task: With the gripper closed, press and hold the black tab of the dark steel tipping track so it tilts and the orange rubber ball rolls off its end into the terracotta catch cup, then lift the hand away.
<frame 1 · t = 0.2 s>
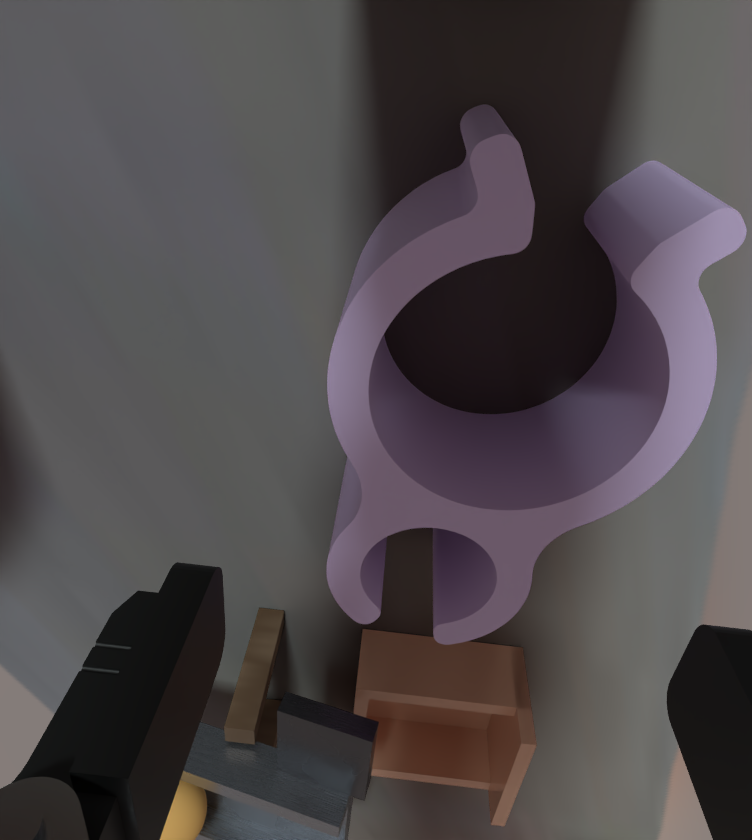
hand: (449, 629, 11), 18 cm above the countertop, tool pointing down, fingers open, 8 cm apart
ball: (166, 811, 32), point 9 cm above the countertop, tilted 9°, touching tipping track
tipping track: (238, 779, 32), point 9 cm above the countertop, hinge at -12.0°, touching ball
clip: (473, 365, 28), on the countertop
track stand: (272, 663, 40), on the countertop
catch cup: (432, 682, 40), on the countertop
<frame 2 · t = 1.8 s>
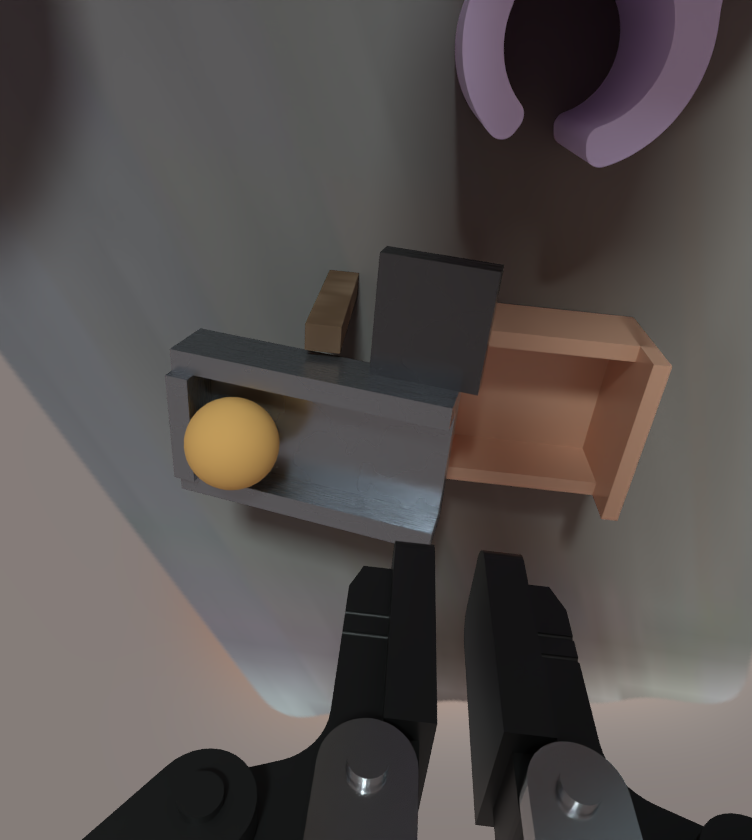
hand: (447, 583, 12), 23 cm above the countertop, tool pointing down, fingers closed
ball: (232, 443, 27), point 9 cm above the countertop, tilted 9°, touching tipping track
tipping track: (321, 392, 26), point 9 cm above the countertop, hinge at -12.0°, touching ball
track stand: (338, 361, 35), on the countertop
catch cup: (523, 381, 35), on the countertop
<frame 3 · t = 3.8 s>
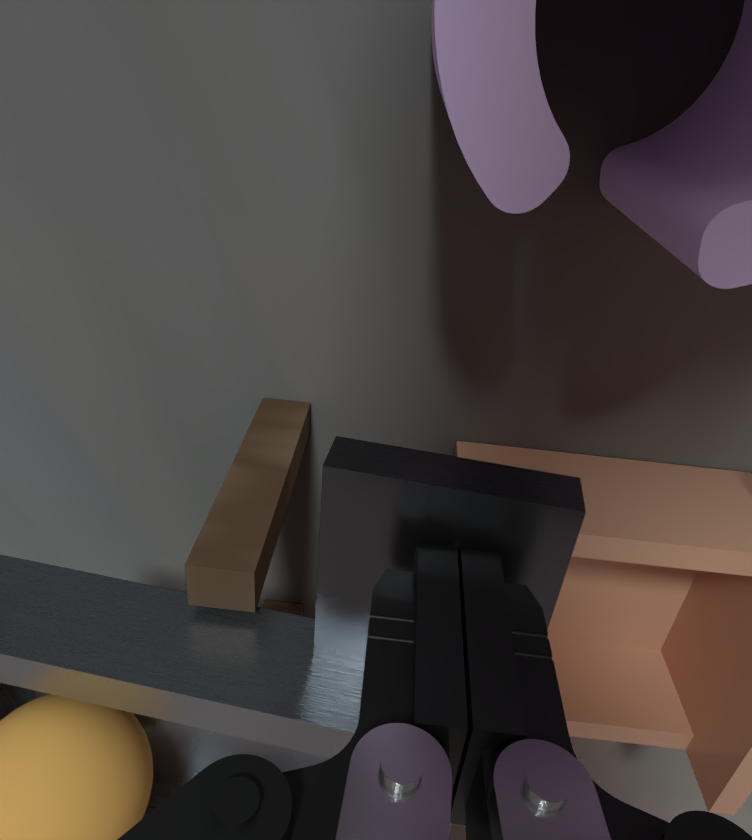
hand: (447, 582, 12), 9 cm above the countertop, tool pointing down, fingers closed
ball: (59, 786, 14), point 10 cm above the countertop, touching tipping track
tipping track: (223, 690, 14), point 9 cm above the countertop, hinge at -6.2°, touching ball, gripper
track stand: (285, 524, 22), on the countertop
catch cup: (573, 557, 22), on the countertop
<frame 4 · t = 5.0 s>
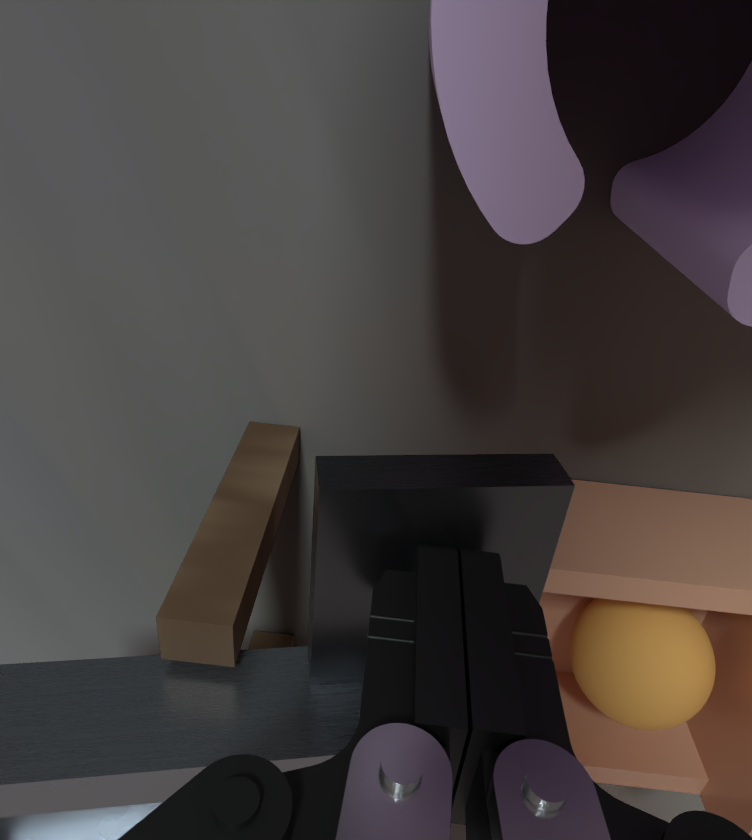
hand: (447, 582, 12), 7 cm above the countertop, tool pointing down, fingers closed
ball: (639, 656, 19), point 3 cm above the countertop, tilted 94°, touching catch cup
tipping track: (216, 749, 13), point 8 cm above the countertop, hinge at 12.1°, touching gripper
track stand: (274, 553, 21), on the countertop
catch cup: (579, 587, 21), on the countertop
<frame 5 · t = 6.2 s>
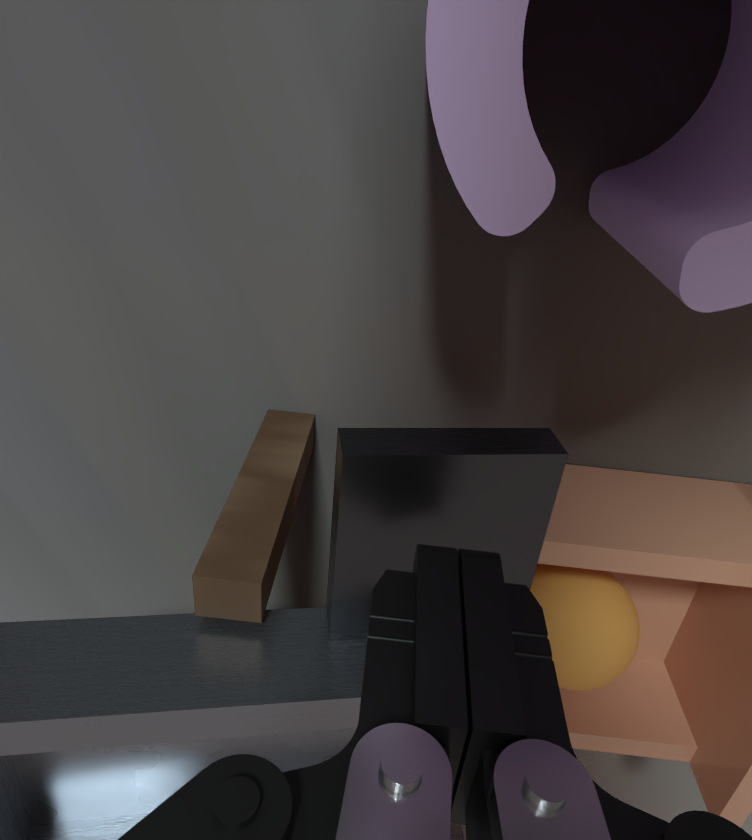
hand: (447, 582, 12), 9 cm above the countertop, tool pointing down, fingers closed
ball: (572, 622, 20), point 3 cm above the countertop, tilted 40°, touching catch cup
tipping track: (244, 697, 14), point 8 cm above the countertop, hinge at 12.2°
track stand: (288, 536, 23), on the countertop
catch cup: (575, 568, 22), on the countertop
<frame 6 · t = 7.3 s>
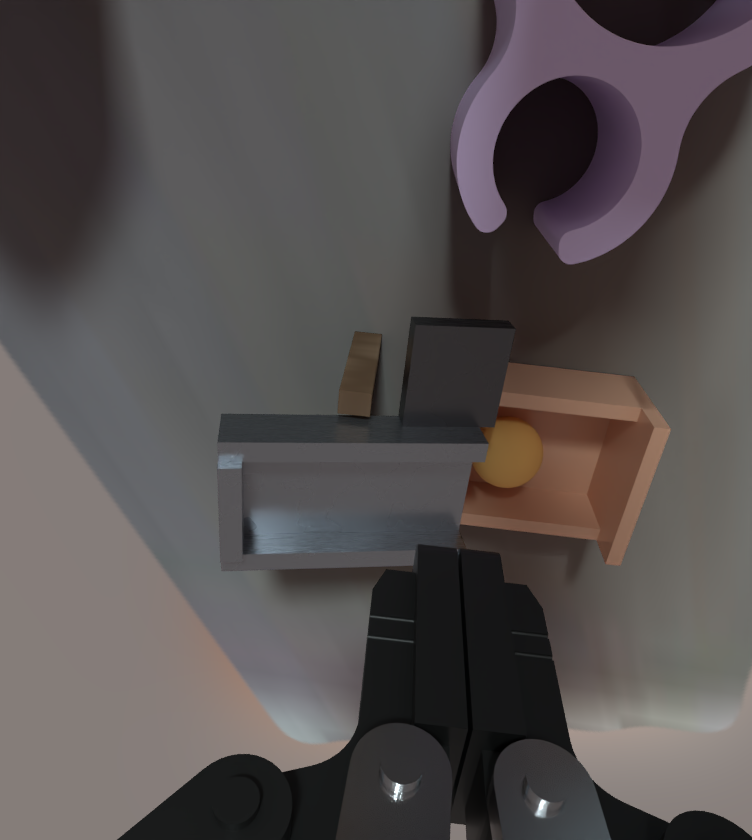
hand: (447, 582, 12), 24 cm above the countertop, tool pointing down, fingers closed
ball: (506, 452, 35), point 3 cm above the countertop, touching catch cup
tipping track: (361, 452, 29), point 8 cm above the countertop, hinge at 12.2°
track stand: (360, 412, 38), on the countertop
catch cup: (532, 432, 37), on the countertop
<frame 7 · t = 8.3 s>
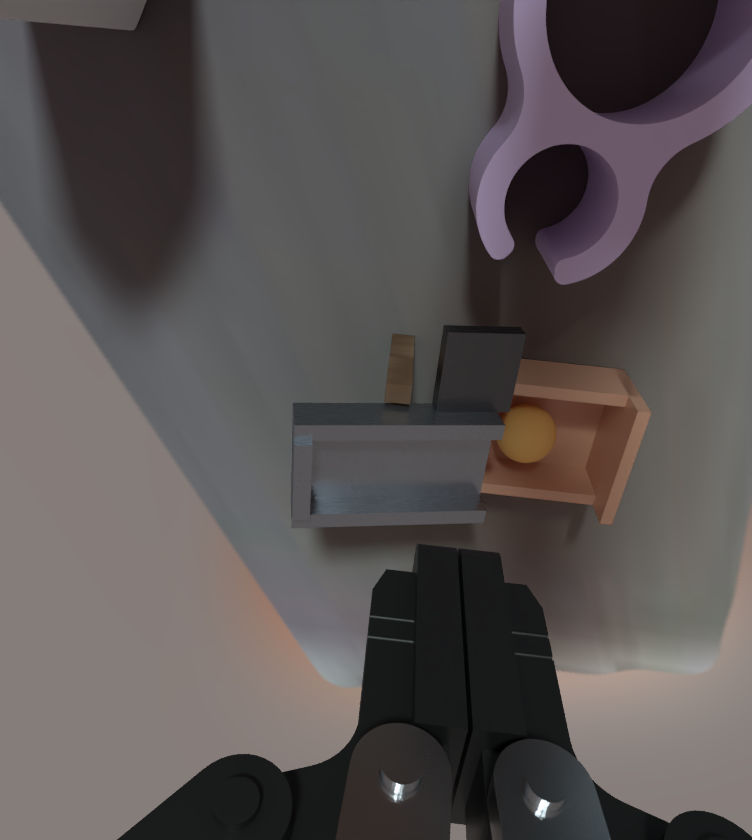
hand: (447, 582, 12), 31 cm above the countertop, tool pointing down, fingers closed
ball: (525, 433, 43), point 3 cm above the countertop, tilted 20°, touching catch cup
tipping track: (404, 432, 37), point 8 cm above the countertop, hinge at 12.2°
clip: (593, 64, 34), on the countertop
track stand: (396, 400, 45), on the countertop
catch cup: (539, 416, 45), on the countertop
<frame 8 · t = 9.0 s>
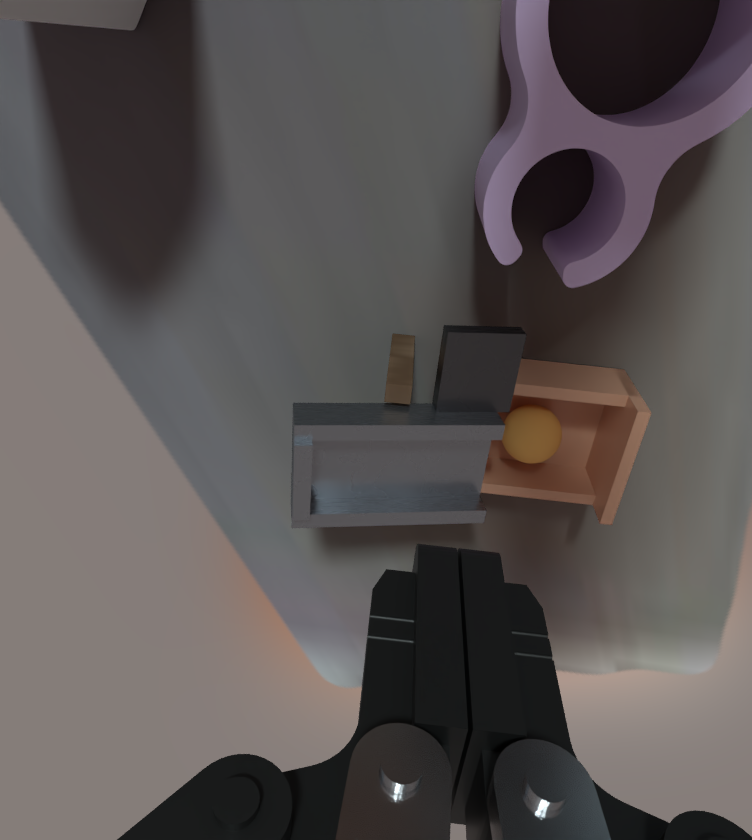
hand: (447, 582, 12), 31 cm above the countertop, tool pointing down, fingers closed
ball: (531, 433, 43), point 3 cm above the countertop, tilted 31°, touching catch cup
tipping track: (404, 432, 37), point 8 cm above the countertop, hinge at 12.2°
clip: (595, 66, 34), on the countertop
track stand: (396, 400, 45), on the countertop
catch cup: (539, 416, 45), on the countertop
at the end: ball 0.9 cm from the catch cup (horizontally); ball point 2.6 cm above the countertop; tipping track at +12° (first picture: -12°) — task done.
